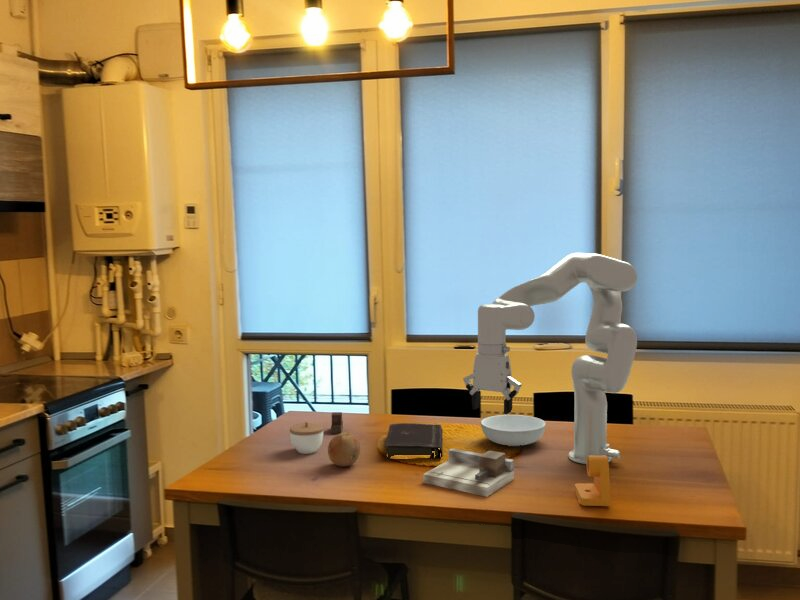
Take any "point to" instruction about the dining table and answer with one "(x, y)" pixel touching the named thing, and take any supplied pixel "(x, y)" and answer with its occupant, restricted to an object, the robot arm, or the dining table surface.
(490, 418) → the serving bowl
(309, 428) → the lidded jar
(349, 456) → the onion
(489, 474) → the block
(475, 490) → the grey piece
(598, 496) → the bracket
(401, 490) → the dining table surface
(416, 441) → the diary
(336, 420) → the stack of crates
